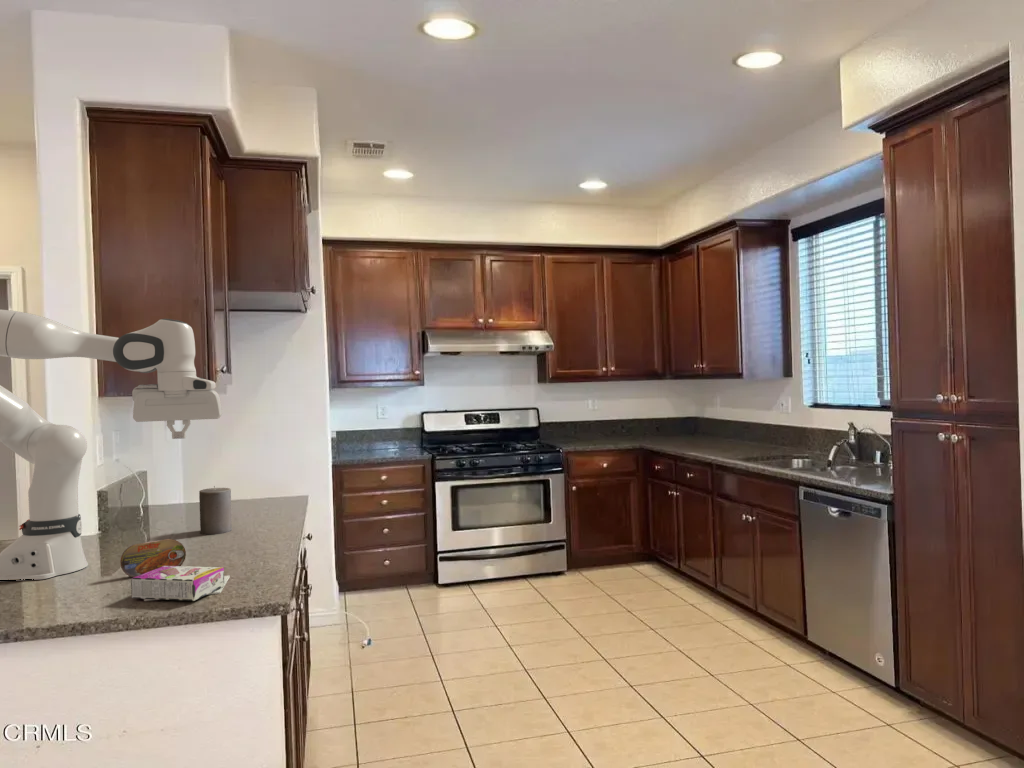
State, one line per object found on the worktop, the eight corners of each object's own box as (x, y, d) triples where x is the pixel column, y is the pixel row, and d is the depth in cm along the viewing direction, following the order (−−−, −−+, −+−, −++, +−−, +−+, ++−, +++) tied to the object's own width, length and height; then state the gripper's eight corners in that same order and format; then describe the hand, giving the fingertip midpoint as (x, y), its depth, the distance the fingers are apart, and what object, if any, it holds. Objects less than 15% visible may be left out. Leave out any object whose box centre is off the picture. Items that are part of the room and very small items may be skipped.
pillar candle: (194, 535, 227) (193, 488, 227) (208, 528, 237) (207, 483, 237) (224, 534, 227) (223, 488, 227) (237, 527, 237) (235, 483, 236)
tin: (121, 580, 177) (119, 547, 177) (120, 577, 180) (118, 544, 180) (186, 569, 185) (185, 537, 185) (184, 567, 188) (183, 535, 188)
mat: (144, 601, 159) (144, 599, 159) (160, 583, 173) (159, 581, 173) (220, 593, 163) (220, 591, 163) (229, 577, 176) (229, 575, 176)
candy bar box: (164, 563, 170) (224, 566, 167) (164, 584, 170) (225, 587, 167) (129, 577, 159) (193, 579, 156) (130, 599, 159) (194, 602, 156)
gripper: (128, 385, 173) (130, 441, 173) (217, 382, 177) (219, 437, 177) (135, 384, 179) (137, 439, 179) (222, 382, 183) (223, 435, 184)
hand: (179, 438), depth 178 cm, fingers closed
